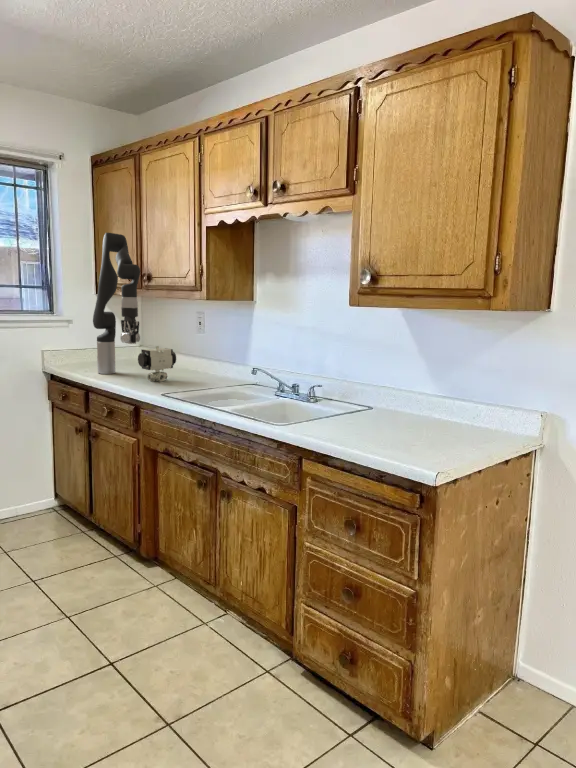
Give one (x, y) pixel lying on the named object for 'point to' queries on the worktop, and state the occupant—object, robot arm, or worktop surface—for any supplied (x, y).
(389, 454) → the worktop surface
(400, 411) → the worktop surface
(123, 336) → the coupling
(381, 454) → the worktop surface
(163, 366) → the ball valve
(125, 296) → the robot arm
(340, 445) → the worktop surface
